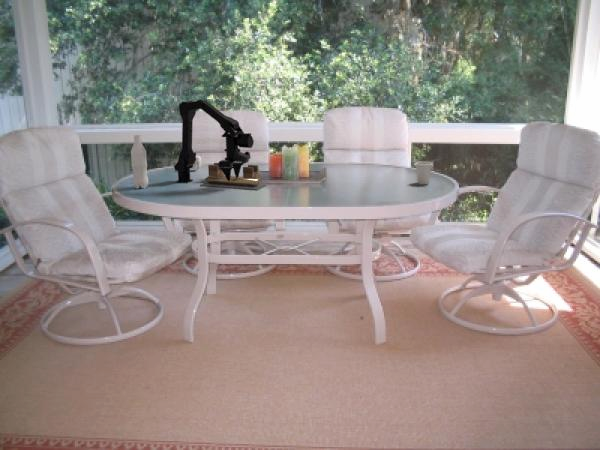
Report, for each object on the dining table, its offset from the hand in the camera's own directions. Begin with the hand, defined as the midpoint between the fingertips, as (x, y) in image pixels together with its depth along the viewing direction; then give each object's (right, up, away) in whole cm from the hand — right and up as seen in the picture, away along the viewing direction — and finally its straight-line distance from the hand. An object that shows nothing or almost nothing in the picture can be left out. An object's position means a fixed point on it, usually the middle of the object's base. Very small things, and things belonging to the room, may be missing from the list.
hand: (233, 179), depth 289 cm
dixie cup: (+93, -2, +6) cm, 93 cm away
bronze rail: (0, -1, 0) cm, 1 cm away
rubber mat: (0, -3, +1) cm, 3 cm away
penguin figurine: (-28, +8, +41) cm, 50 cm away
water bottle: (-44, -5, -2) cm, 44 cm away
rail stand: (-1, 0, +13) cm, 13 cm away
